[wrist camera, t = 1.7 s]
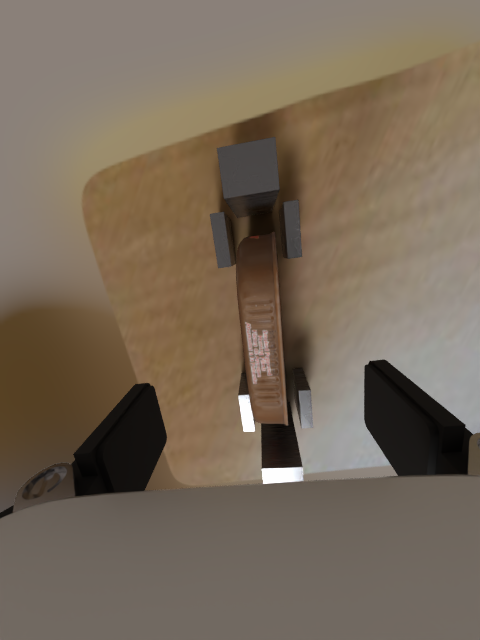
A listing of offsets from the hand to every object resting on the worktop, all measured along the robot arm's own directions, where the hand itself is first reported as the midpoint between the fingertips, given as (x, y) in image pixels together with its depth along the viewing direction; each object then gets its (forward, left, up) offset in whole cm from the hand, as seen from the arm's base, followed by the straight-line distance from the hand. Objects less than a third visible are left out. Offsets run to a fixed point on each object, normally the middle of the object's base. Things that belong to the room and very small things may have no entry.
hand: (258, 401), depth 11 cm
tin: (-1, 0, -13) cm, 13 cm away
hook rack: (-1, 0, -13) cm, 13 cm away
